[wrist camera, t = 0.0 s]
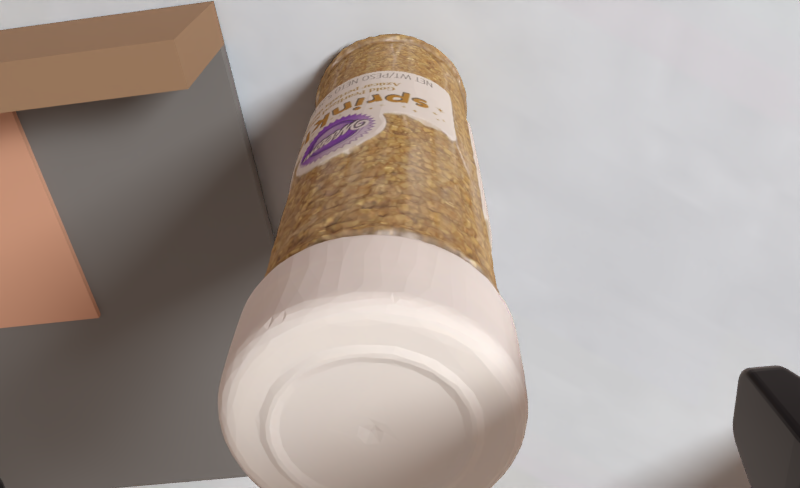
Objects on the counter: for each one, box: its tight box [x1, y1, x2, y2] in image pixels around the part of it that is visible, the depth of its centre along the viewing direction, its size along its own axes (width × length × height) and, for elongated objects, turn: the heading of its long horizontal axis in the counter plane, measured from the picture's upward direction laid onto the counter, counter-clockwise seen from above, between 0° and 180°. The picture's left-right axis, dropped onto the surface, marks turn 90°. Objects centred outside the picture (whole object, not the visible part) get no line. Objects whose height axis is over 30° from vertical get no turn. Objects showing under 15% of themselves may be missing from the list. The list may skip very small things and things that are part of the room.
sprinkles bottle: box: [218, 34, 528, 488], centre depth 16 cm, size 5×5×13 cm
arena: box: [0, 1, 275, 488], centre depth 24 cm, size 18×16×4 cm
